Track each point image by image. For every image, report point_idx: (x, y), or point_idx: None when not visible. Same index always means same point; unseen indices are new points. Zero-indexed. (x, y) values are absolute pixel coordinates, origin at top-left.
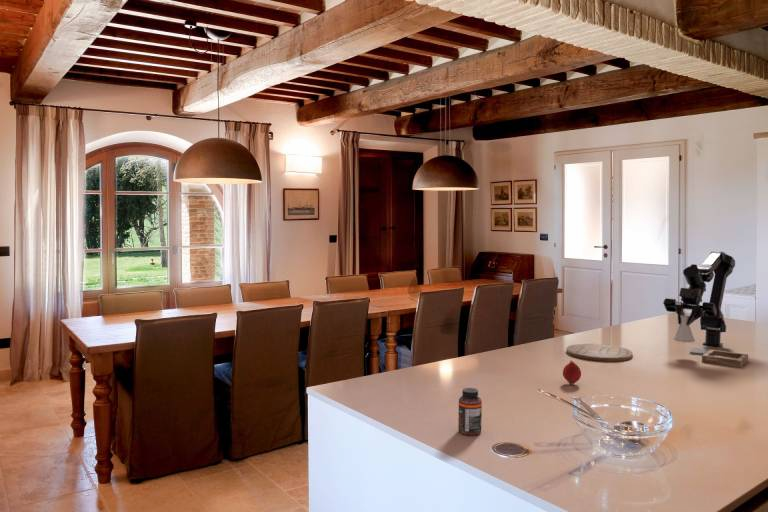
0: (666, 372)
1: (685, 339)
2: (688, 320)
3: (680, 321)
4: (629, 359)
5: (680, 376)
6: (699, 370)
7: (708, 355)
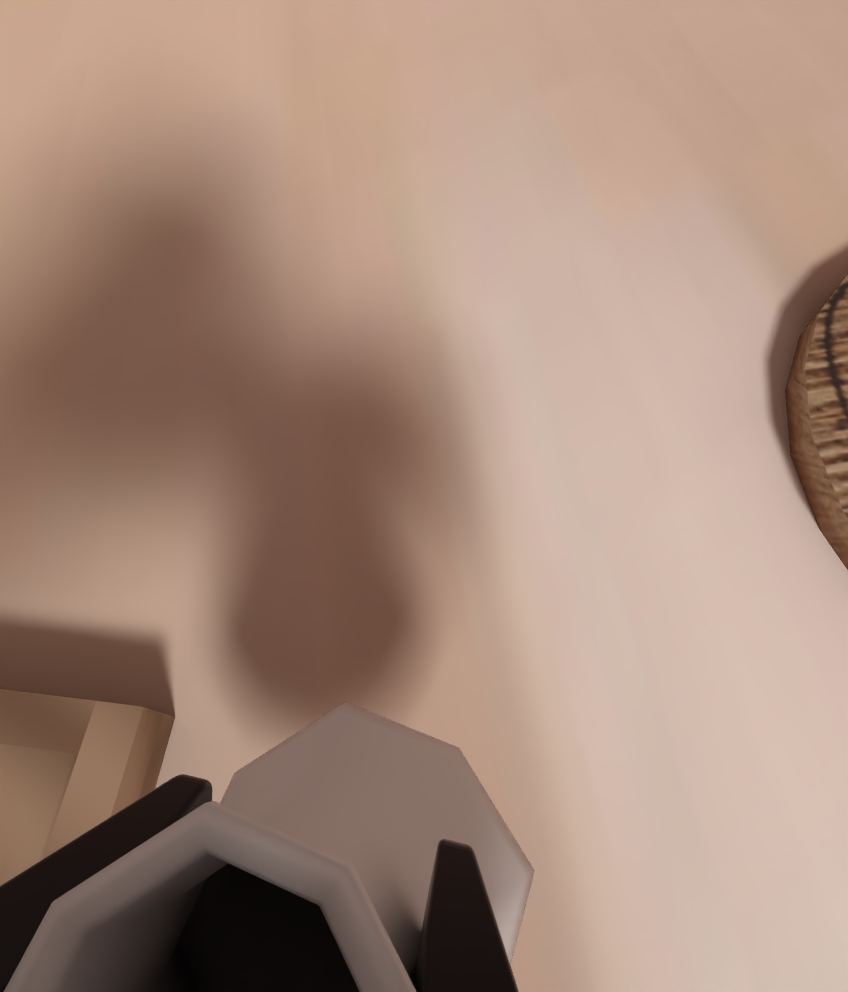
0: (421, 215)
1: (312, 729)
2: (117, 854)
3: (416, 966)
4: (788, 419)
5: (327, 178)
6: (210, 371)
7: (67, 744)
